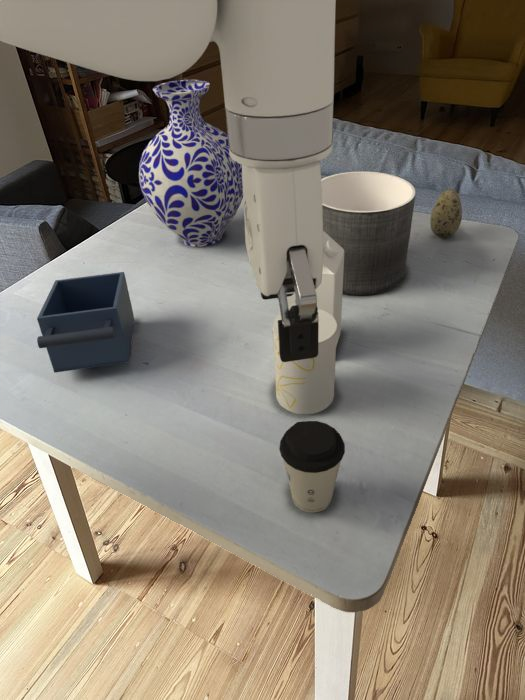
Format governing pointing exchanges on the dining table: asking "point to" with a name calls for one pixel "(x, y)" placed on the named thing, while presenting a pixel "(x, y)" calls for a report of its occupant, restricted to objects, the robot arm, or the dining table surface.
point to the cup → (308, 372)
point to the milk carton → (329, 282)
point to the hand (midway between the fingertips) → (287, 324)
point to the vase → (190, 169)
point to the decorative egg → (446, 214)
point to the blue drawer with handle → (87, 322)
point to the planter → (369, 227)
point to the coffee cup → (312, 463)
